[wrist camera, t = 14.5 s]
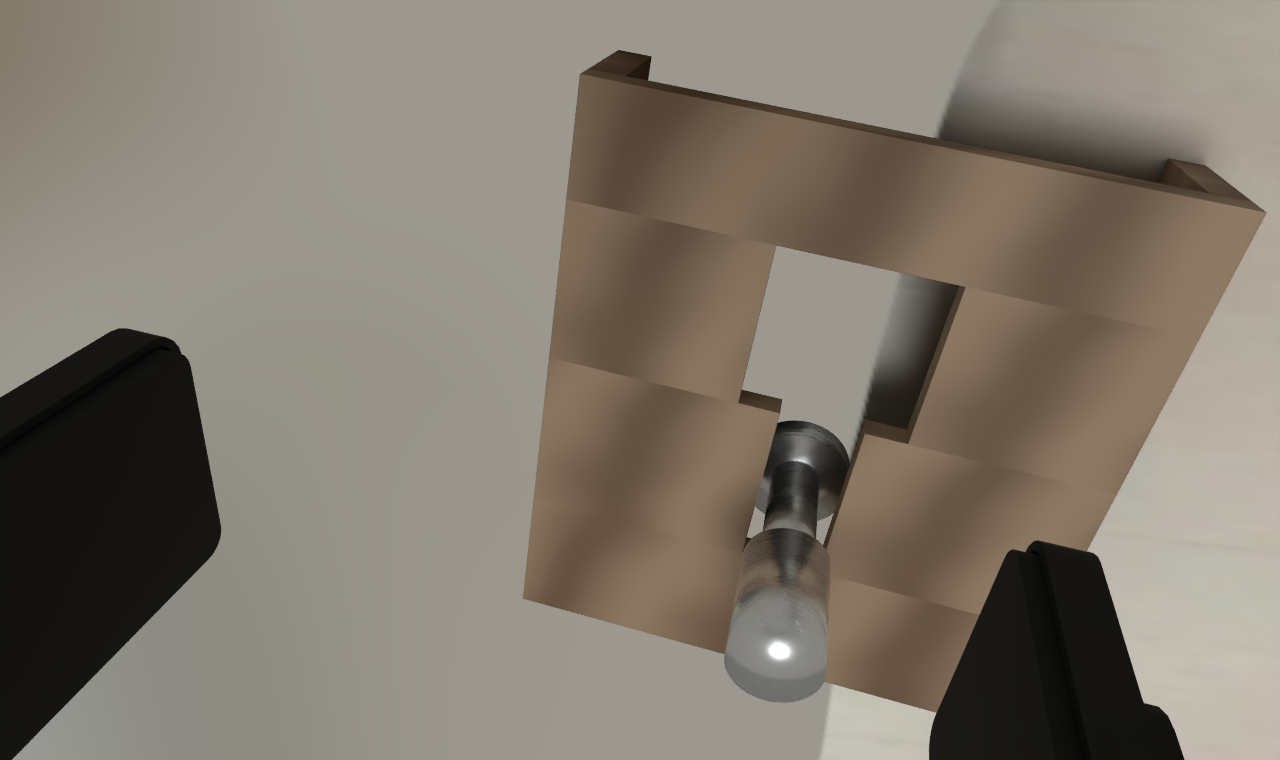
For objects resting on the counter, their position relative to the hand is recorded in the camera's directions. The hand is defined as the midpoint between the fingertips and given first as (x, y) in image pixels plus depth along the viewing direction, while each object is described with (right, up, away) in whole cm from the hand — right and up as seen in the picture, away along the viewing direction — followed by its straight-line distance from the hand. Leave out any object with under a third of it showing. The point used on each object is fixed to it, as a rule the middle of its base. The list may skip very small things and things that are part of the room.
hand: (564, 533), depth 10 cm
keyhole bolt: (+8, -2, +28) cm, 29 cm away
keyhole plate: (+8, +1, +26) cm, 27 cm away
